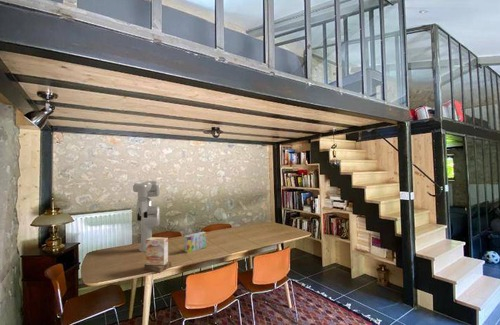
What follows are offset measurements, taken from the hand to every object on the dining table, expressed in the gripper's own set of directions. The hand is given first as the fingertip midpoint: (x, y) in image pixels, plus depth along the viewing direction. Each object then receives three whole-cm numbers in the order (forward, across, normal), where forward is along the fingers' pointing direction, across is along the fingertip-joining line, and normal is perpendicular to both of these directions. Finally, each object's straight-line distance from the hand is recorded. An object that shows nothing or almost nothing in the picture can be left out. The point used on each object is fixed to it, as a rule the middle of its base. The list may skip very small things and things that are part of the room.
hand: (142, 219), depth 202 cm
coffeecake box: (+32, +13, +19) cm, 39 cm away
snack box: (+36, -31, +36) cm, 60 cm away
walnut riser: (+36, +12, +20) cm, 43 cm away
